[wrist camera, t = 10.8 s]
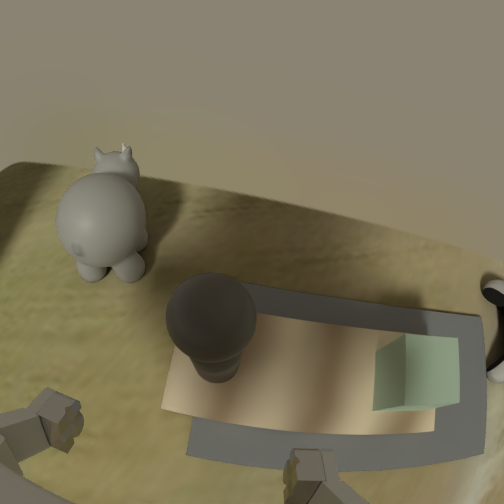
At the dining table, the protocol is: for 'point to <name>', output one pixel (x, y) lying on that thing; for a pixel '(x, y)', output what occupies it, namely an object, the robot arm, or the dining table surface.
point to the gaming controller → (500, 296)
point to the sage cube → (417, 374)
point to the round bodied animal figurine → (105, 219)
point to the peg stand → (274, 366)
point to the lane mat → (362, 446)
